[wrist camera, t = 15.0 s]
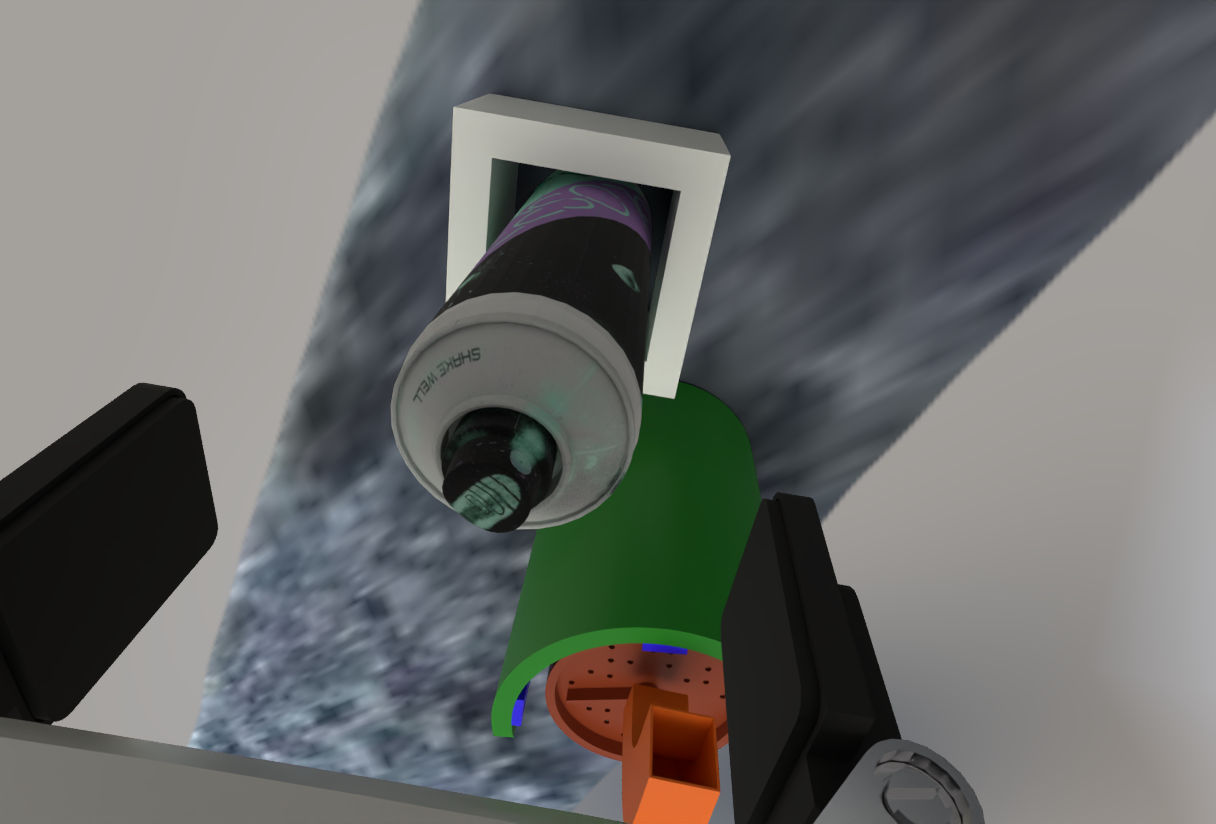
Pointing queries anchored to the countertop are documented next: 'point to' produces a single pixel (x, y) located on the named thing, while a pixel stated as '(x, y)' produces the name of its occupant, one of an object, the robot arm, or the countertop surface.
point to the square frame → (599, 146)
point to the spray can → (536, 362)
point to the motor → (643, 610)
